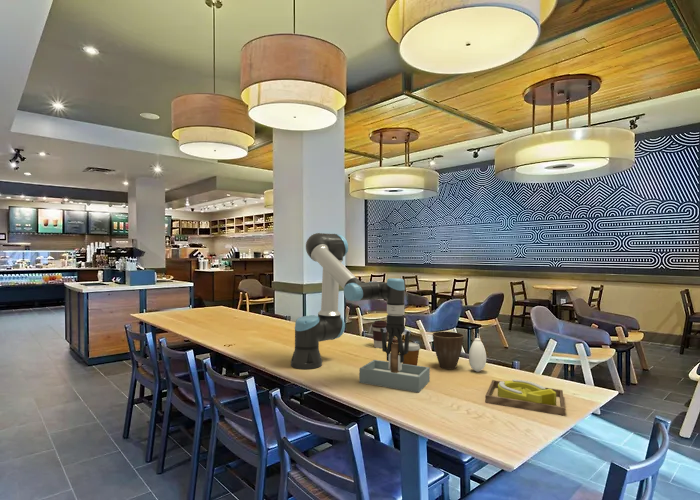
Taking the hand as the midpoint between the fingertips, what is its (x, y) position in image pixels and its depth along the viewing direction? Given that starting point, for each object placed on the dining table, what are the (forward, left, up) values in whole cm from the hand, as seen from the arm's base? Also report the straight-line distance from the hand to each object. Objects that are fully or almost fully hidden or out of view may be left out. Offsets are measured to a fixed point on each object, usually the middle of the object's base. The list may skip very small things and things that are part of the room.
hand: (395, 369), depth 173 cm
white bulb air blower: (+29, +34, -6) cm, 45 cm away
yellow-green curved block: (+51, +4, -5) cm, 51 cm away
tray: (0, 0, -5) cm, 5 cm away
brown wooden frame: (+51, +4, -5) cm, 51 cm away
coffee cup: (-30, +58, -6) cm, 66 cm away
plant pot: (+15, +34, -6) cm, 38 cm away
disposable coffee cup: (0, +21, -6) cm, 22 cm away
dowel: (0, 0, -1) cm, 1 cm away
